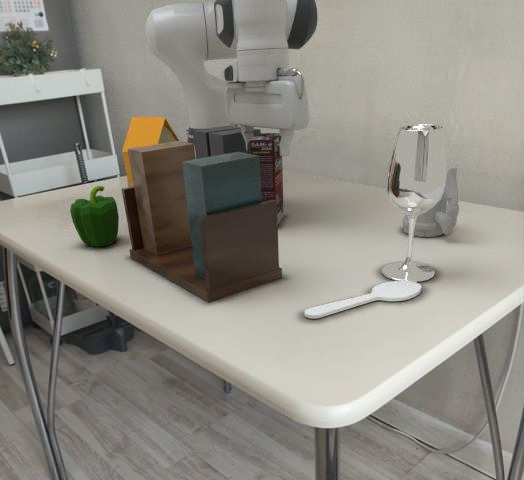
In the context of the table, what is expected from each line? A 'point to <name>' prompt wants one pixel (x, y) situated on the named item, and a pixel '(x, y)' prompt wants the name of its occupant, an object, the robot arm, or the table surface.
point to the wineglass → (415, 187)
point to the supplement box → (269, 168)
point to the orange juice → (146, 137)
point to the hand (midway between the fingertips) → (267, 153)
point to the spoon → (369, 298)
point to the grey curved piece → (439, 212)
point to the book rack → (201, 219)
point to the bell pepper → (96, 219)
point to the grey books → (220, 141)
